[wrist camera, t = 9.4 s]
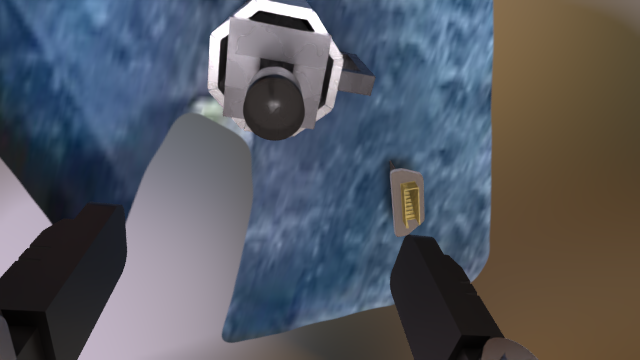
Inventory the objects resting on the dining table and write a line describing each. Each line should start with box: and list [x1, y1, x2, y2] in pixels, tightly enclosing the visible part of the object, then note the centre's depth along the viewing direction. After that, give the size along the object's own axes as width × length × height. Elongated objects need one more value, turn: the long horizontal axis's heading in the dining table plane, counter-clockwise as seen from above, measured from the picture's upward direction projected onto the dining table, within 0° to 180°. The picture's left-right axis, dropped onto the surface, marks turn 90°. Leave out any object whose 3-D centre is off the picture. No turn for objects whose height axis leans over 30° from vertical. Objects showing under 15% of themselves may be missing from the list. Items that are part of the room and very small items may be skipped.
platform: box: [390, 161, 424, 237], centre depth 48 cm, size 12×18×7 cm, turn 9°
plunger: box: [243, 11, 308, 140], centre depth 28 cm, size 7×7×18 cm
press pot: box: [208, 0, 375, 137], centre depth 34 cm, size 10×13×15 cm
